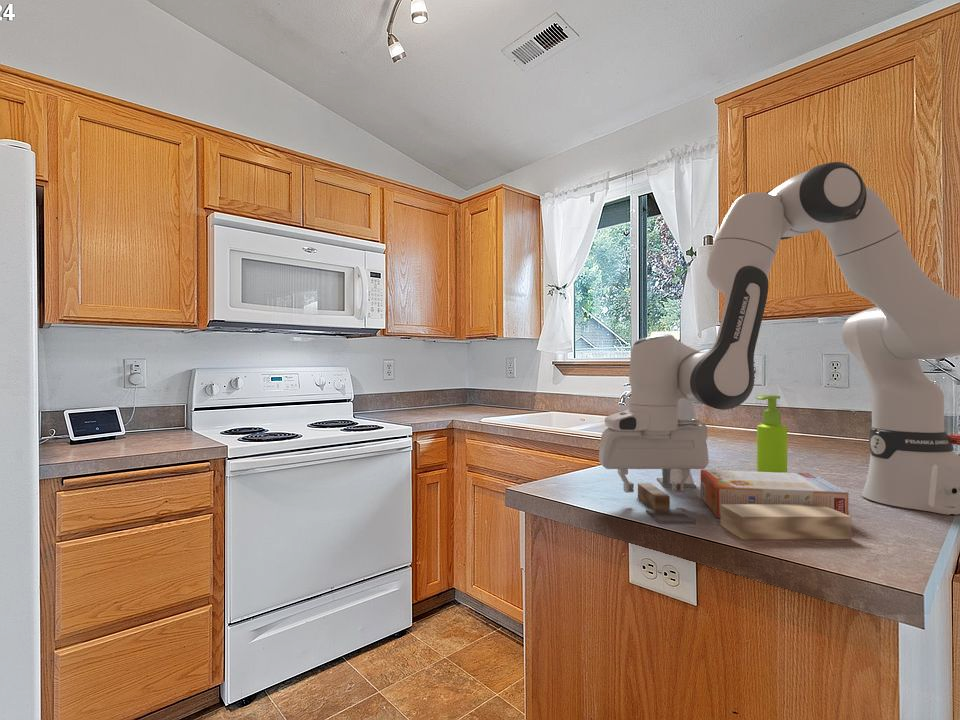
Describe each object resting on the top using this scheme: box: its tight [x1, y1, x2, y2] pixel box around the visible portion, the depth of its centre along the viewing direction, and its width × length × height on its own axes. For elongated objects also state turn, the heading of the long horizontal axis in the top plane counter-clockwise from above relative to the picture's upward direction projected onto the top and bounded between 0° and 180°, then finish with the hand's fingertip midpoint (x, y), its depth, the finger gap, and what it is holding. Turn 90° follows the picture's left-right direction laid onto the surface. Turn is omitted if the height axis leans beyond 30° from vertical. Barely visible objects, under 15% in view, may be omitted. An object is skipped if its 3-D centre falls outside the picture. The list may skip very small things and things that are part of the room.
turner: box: [637, 482, 696, 525], centre depth 97 cm, size 17×6×3 cm, turn 1°
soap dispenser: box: [755, 394, 788, 473], centre depth 116 cm, size 6×7×20 cm
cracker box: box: [699, 469, 850, 519], centre depth 96 cm, size 14×6×21 cm
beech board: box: [720, 504, 852, 540], centre depth 84 cm, size 17×7×4 cm, turn 91°
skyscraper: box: [656, 398, 697, 489], centre depth 118 cm, size 8×8×28 cm
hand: (653, 491), depth 100 cm, fingers open, 8 cm apart
